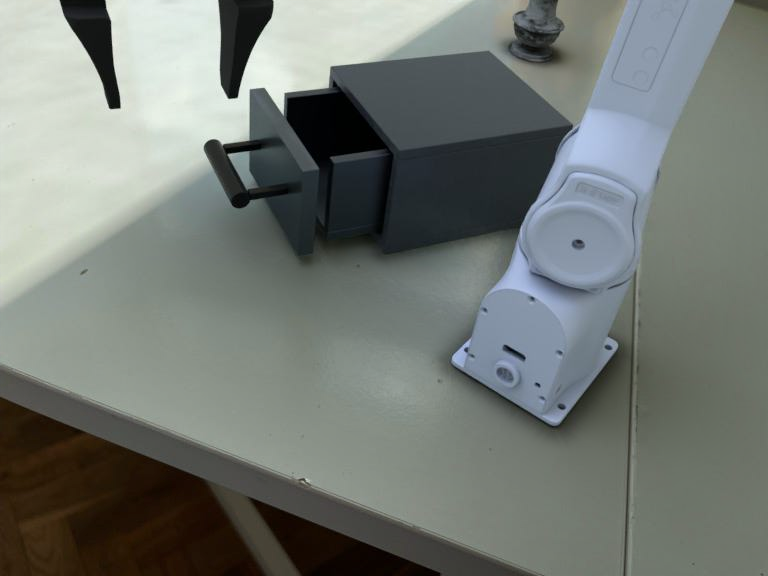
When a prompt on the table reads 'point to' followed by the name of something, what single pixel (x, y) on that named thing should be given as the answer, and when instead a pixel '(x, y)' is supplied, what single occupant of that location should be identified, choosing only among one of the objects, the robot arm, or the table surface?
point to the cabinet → (454, 143)
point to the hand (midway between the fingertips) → (172, 96)
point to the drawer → (310, 166)
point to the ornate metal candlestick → (536, 31)
